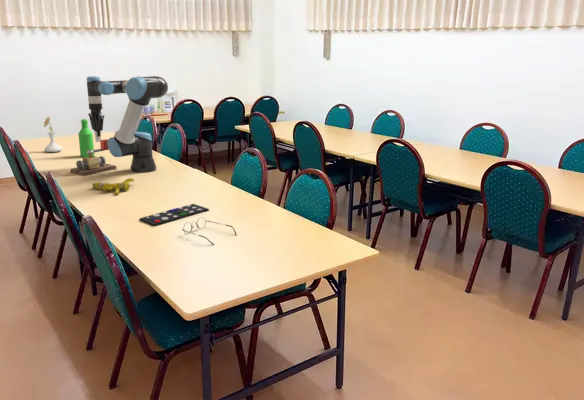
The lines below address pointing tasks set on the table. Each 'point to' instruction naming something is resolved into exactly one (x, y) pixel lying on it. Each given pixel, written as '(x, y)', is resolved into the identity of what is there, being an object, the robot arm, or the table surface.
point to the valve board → (93, 171)
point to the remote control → (173, 214)
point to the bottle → (85, 139)
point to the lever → (103, 146)
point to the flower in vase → (52, 146)
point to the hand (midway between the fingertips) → (98, 141)
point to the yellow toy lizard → (113, 186)
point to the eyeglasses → (203, 227)
